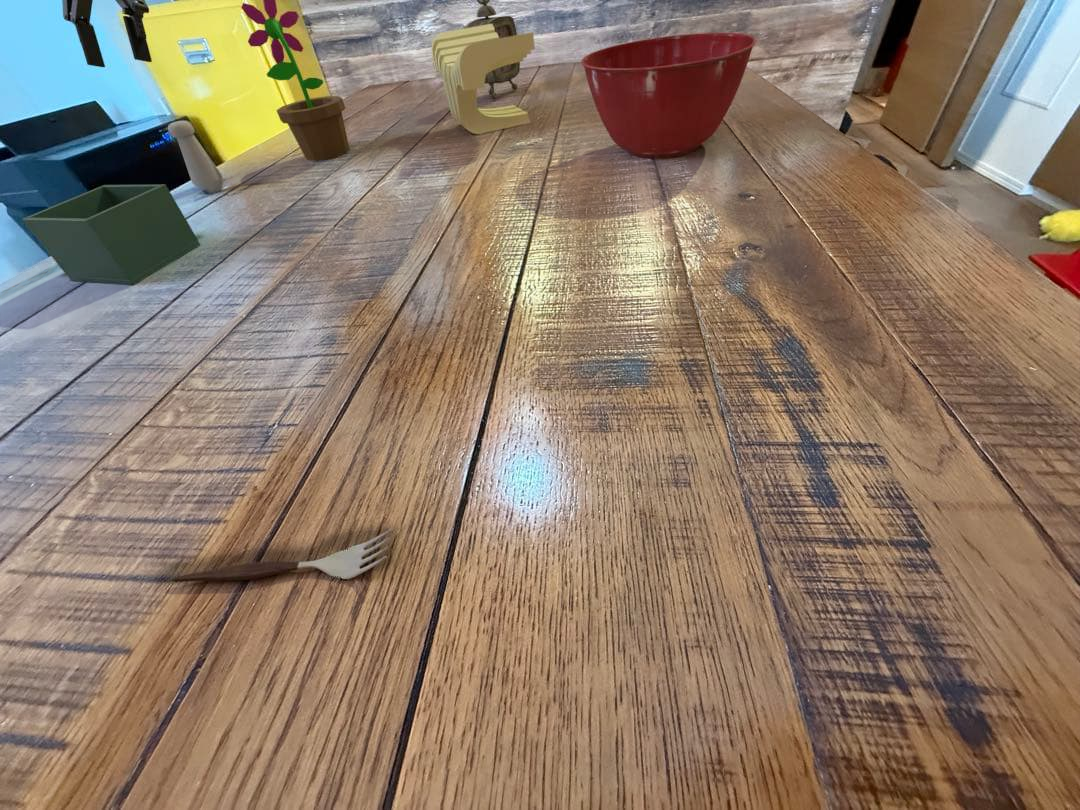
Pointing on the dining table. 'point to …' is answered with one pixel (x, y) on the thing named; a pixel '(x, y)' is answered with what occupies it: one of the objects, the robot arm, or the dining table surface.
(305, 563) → the fork
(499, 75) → the tabletop clock
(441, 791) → the dining table surface
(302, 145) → the flowerpot
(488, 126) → the slatted curved stool
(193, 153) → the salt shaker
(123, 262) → the waste bin
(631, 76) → the mixing bowl
